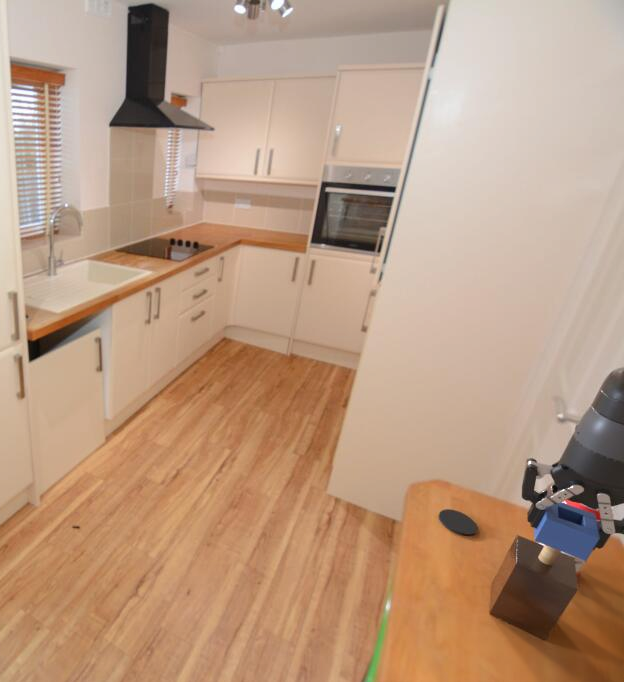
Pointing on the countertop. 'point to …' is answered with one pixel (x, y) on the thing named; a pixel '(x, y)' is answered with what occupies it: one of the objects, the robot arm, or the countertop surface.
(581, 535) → the blue block
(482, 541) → the countertop surface
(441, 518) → the mat
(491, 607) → the dowel stand
